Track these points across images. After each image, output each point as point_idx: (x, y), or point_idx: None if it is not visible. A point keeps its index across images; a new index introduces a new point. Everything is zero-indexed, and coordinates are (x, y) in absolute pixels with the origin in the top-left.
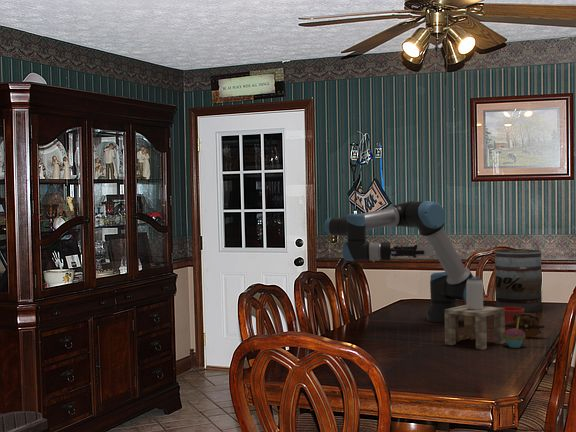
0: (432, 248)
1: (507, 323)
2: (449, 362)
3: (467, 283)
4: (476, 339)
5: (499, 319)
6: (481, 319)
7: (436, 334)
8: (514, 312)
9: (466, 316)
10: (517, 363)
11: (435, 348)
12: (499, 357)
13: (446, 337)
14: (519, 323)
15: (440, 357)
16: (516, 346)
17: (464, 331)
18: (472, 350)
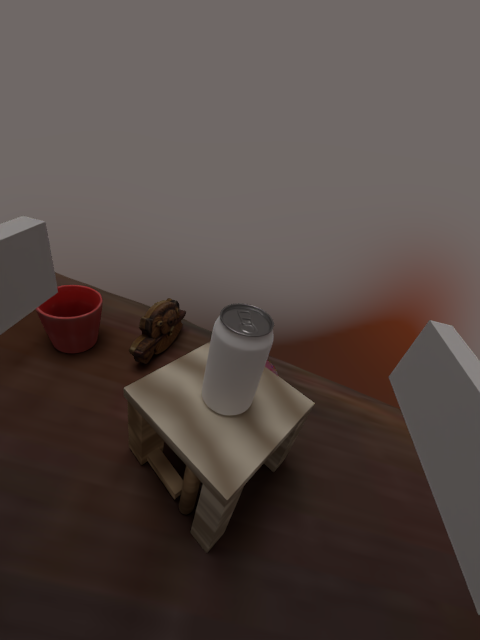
0: (42, 251)
1: (88, 336)
2: (473, 604)
3: (255, 351)
4: (281, 458)
5: None
6: (307, 415)
7: (6, 545)
8: (100, 308)
9: None
10: (405, 435)
11: (275, 613)
12: (362, 450)
13: (214, 539)
14: (162, 331)
15: (417, 624)
16: None
17: (141, 454)
18: (296, 487)
